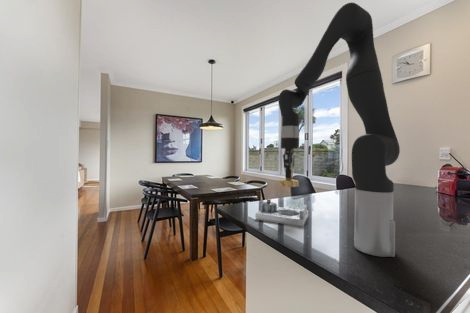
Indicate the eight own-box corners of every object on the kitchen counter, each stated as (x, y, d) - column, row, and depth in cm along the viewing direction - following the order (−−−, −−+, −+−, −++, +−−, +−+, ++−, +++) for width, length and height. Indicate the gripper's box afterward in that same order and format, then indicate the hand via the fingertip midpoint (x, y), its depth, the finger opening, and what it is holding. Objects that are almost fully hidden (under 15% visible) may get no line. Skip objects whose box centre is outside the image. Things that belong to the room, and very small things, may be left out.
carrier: (308, 216, 93) (308, 199, 93) (303, 226, 78) (303, 207, 78) (266, 210, 101) (266, 195, 101) (254, 219, 87) (255, 201, 87)
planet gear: (299, 185, 91) (300, 166, 91) (296, 187, 84) (297, 166, 84) (282, 183, 94) (282, 165, 94) (277, 185, 87) (277, 165, 87)
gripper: (296, 135, 81) (295, 180, 81) (301, 138, 94) (300, 177, 94) (277, 136, 84) (276, 178, 85) (284, 138, 97) (284, 176, 97)
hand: (289, 177), depth 89 cm, fingers closed on planet gear, 3 cm apart
